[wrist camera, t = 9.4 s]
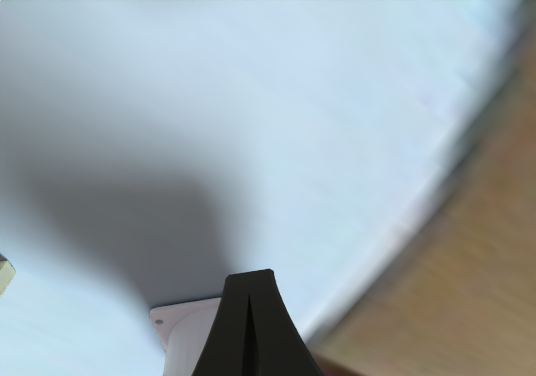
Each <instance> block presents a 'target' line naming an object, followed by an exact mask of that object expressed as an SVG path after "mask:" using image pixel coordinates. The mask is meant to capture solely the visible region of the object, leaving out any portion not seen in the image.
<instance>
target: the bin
mask: <svg viewBox="0 0 536 376" xmlns="http://www.w3.org/2000/svg"><path fill="white" fill-rule="evenodd" d="M15 274H16V272H15V270H14V269H13V267H12V266H11V265H10V263H9V262H8V260H7V261H0V297H1V296H2V294H3V292H4V291H5V289H6V288H7V286H8V285H9V283H10V281H11V280H12V278H13V277H14V275H15Z"/></svg>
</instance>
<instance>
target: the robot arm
mask: <svg viewBox="0 0 536 376" xmlns="http://www.w3.org/2000/svg"><path fill="white" fill-rule="evenodd" d="M149 318H150V320H151V322H152V324H153V326H154V328H155V330H156V333H157V335H158V337H159V339H160V341H161V343H162V345H163V347H164V350H165V352H166V359H165V365H164V372H163V376H324V374H323V373H322V371H321V370H320V368H319V367H318V365H317V364H316V362H315V360H314V359H313V357H312V356H311V354H310V352H309V351H308V349H307V347H306V346H305V344H304V342H303V340H302V339H301V337H300V335H299V333H298V331H297V329H296V328H295V326H294V324H293V322H292V320H291V318H290V316H289V314H288V312H287V309H286V307H285V305H284V303H283V300H282V298H281V295H280V293H279V290H278V287H277V284H276V280H275V276H274V271H273V270H271V269H264V270H258V271H251V272H245V273H239V274H232V275H229V276H228V277H227V278H226V280H225V285H224V289H223V293H222V297H220V298H214V299H207V300H201V301H195V302H188V303H182V304H176V305H169V306H163V307H157V308H153V309H152V310H151V311H150V314H149ZM159 319H160V320H159Z"/></svg>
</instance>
